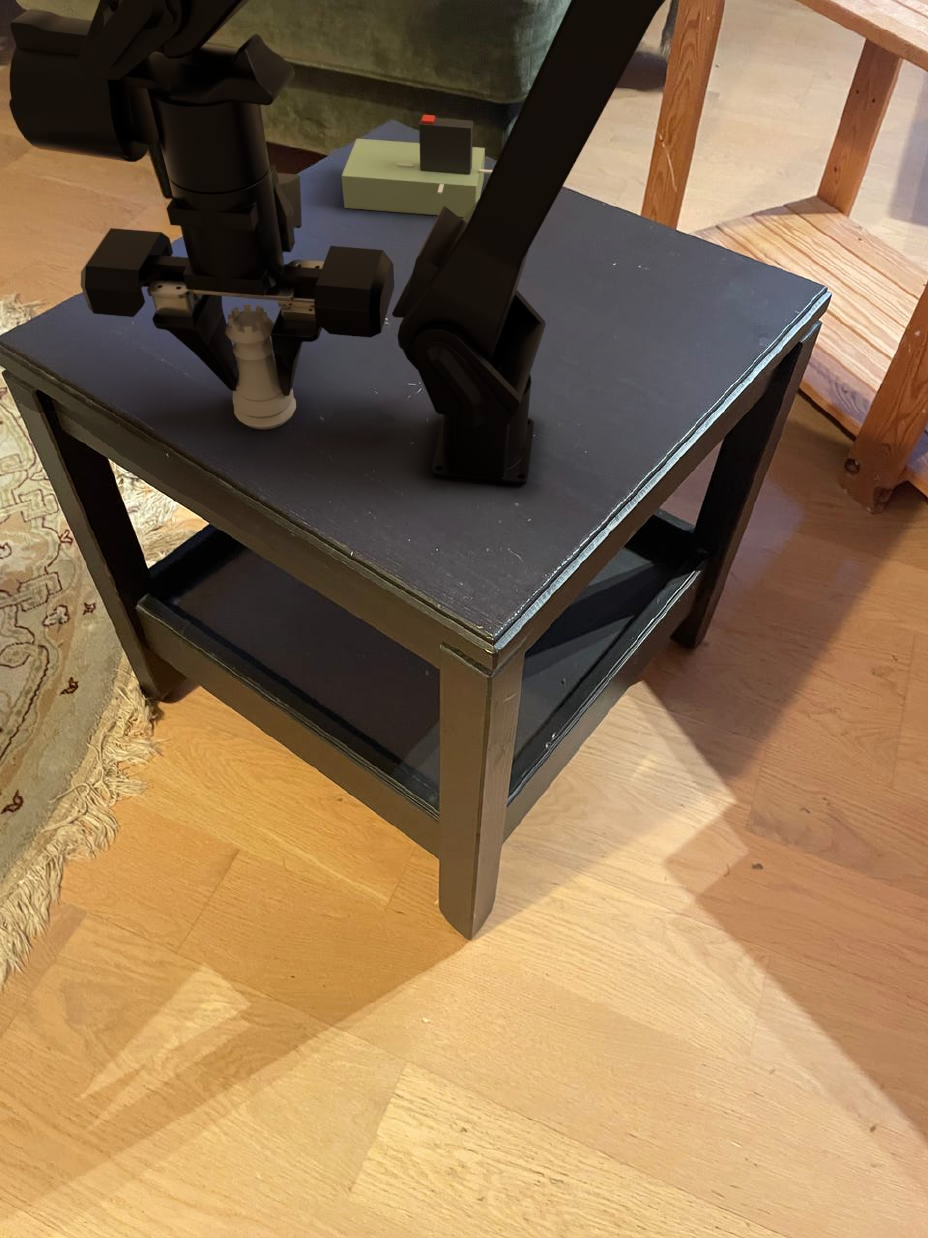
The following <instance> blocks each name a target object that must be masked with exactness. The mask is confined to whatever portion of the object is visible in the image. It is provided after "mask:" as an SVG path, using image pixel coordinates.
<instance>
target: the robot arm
mask: <svg viewBox="0 0 928 1238" xmlns="http://www.w3.org/2000/svg"><path fill="white" fill-rule="evenodd" d="M249 1H250V0H99V1H98V3H97V7H96V10H95V11H94V15H93V17H92V20H90V19H81V18H74V17H73V18H72V17H67V16H61V15H59V14H57V13H54V12H51V11H47V10H41V9H36V8H35V9H34V8H29V9H27V10H26V11H25V12H23V13H22V14H20V15H19V16H18V17H16V18H14V19H13V20H12V21H11V22H10V24H9V29H10V33H11V35H12V38H13V41H14V45H15V48H14V51H13V54H12V57H11V60H10V67H9V93H10V99H9V101H8V106H9V110H10V112H11V116H12V118H13V120H14V123H15V125H16V127H17V129H18V130H19V133H21V135H22V136H23V138H24V139H25V140H26V141H27V142H28V143H29V144H30V145H31V146H33V147H34V148H37V149H39V150H45V151H50V152H51V151H52V152H58V153H65V154H72V155H77V156H78V155H80V156H85V157H94V158H100V159H107V160H115V161H119V162H127V163H136V162H139V161H140V160H142V159H143V158H144V157H145V156H146V154H147V153H148V151H149V149H150V148H151V146H153V145H154V144H156V143H157V142H158V141H159V144H160V148H161V152H162V156H163V160H164V164H165V168H166V169H165V170H166V172H167V177H168V180H169V185H170V190H171V195H172V197H171V200H170V201H169V203H168V205H167V206H166V213H167V216H168V217H167V218H168V220H169V225H170V226H176V227H180V231H181V235H182V239H183V243H184V248H185V252H186V256H187V257H185V256H184V257H183V256H174V255H173V254H174V251H173V246H172V243H171V238H170V237H169V236H167V235H166V234H165V233H163V232H162V231H152V230H151V231H150V230H139V229H129V228H128V229H126V228H117V227H116V228H114V227H111V228H110V229H108V231H107V232H106V233H105V234H104V236H103V238H102V239H101V241H100V242H99V244H98V245H97V247H96V248H95V249H94V251H93V252H92V254H91V256H90V257H89V258H88V260H87V262H86V263H85V265H84V266H83V268H82V270H80V288H81V290H82V293H83V296H84V299H85V302H86V305H87V307H88V309H89V310H90V311H91V313H92V314H94V315H102V316H103V315H104V316H114V317H115V316H116V317H127V318H134V317H135V316H136V315H137V314H138V313H139V312H140V311H141V310H142V308H143V307H144V305H145V303H146V299H145V295H144V293H143V289H142V288H146V292H147V295H148V296H149V297H151V298H152V302H153V305H154V309H155V312H154V314H153V316H152V319H151V320H152V323H153V326H154V328H156V329H158V330H163V331H164V330H165V331H167V332H169V333H170V334H172V335H173V336H174V337H175V338H176V339H177V340H178V341H179V342H180V343H182V344H183V345H184V346H185V347H186V348H187V349H189V350H190V351H191V352H192V353H193V354H194V355H196V356H197V358H198V359H200V360H201V362H203V363H204V365H206V366H207V368H209V370H210V371H211V372H212V373H213V374H214V375H215V377H216V378H218V379H219V380H220V381H221V382H222V383H223V385H225V387H226V388H227V389H228V390H230V391H231V392H233V391H237V390H236V383H237V381H238V379H239V365H238V359H237V356H236V355H235V354H234V353H233V345H234V344H233V341H232V340H231V339H229V338H228V336H227V335H226V334H225V327H226V325H227V324H228V323H227V320H226V316H225V313H224V309H223V297H232V298H242V299H255V300H266V301H277V304H278V305H277V307H280V308H279V311H278V314H277V316H276V318H275V321H274V326H273V328H272V331H271V333H270V334H271V336H270V339H271V340H272V346H273V357H274V359H275V364H276V370H277V376H278V381H279V385H280V388H281V390H282V393H283V395H284V396H289V395H290V392H291V389H293V386H294V382H295V376H296V373H297V368H298V363H299V358H300V355H301V349H302V345H303V343H313V342H315V341H317V340H318V339H319V338H320V336H321V333H322V330H324V331H325V332H326V333H328V334H329V335H337V336H347V337H359V338H369V339H371V338H373V337H376V336H378V335H379V334H381V333H382V331H383V328H384V324H385V322H386V321H385V320H386V317H387V315H388V310H389V306H390V304H391V299H392V296H393V293H394V290H395V272H394V270H395V268H394V263H393V261H392V260H391V258H390V257H389V256H388V255H387V253H386V252H385V250H384V249H375V248H361V247H352V246H351V247H350V246H339V245H338V246H337V245H330V246H329V249H328V250H327V254H326V257H325V259H324V260H310V259H293V260H291V261H290V262H288V263H285V260H284V253H292V251H293V249H294V247H295V244H296V237H295V232H294V230H295V229H301V228H302V226H303V224H302V223H303V221H302V194H301V193H302V192H301V176H300V175H298V174H294V173H285V172H284V173H283V172H278V171H277V169H276V165H275V164H270V161H269V154H268V147H267V140H266V133H265V127H264V121H263V114H262V108H261V106H266V107H267V106H270V105H272V104H273V103H274V102H275V100H276V99H277V98H278V97H279V95H281V93H282V92H283V91H284V90H285V88H286V87H287V86H288V85H289V84H290V83H291V81H292V80H293V79H294V77H295V75H296V74H295V69H294V67H293V66H292V65H291V64H290V63H289V62H288V61H287V60H286V59H284V57H283V56H282V55H280V54H279V53H277V52H275V51H274V50H273V49H272V48H270V47H269V46H268V45H267V44H266V43H265V41H264V39H263V38H262V37H261V35H260V34H258V33H253V34H251V35H250V36H249V37H248V38H247V39H246V40H245V42H243V43H242V44H241V45H240V47H239V48H234V47H233V48H232V47H226V46H218V45H212V44H206V43H208V41H209V40H211V38H213V37H214V36H215V35H216V33H218V32H219V31H220V30H221V29H222V28H223V27H224V26H225V25H226V24H227V23H228V22H229V21H231V19H232V18H233V17H234V16H236V15H237V14H238V12H239V11H240V10H241V9H243V8H244V7H245V6H246V4H248V2H249ZM666 1H667V0H570V2H569V4H568V7H567V9H566V11H565V13H564V15H563V17H562V20H560V23H559V25H558V27H557V30H556V32H555V33H554V34H555V35H554V37H553V39H552V41H551V43H550V45H549V47H548V50H547V52H546V53H545V56H544V59H543V60H542V63H541V65H540V67H539V69H538V72H537V73H536V75H535V78H534V80H533V82H532V84H531V87H530V88H529V91H528V93H527V95H526V97H525V99H524V101H523V104H522V106H521V108H520V110H519V111H518V114H517V117H516V119H515V121H514V123H513V125H512V127H511V130H510V131H509V133H508V136H507V138H506V141H505V143H504V145H503V146H502V149H501V151H500V153H499V155H498V158H497V160H496V162H495V165H494V166H493V169H492V170H493V171H492V173H490V175H489V177H488V179H487V182H486V184H485V186H484V188H483V190H482V191H481V195H480V198H479V200H478V201H477V202H476V204H475V205H474V206H473V207H472V209H471V210H470V211H469V212H468V213H467V214H466V215H465V217H458V216H457V215H456V214H455V213H453V212H452V211H451V210H449V209H448V208H447V207H445V206H443V207H442V209H441V211H440V213H439V215H437V217H436V219H435V221H434V222H433V223H434V224H433V225H432V227H431V229H430V231H429V233H428V235H427V237H426V239H425V241H424V243H423V244H422V246H421V249H420V251H419V252H418V255H417V257H416V259H415V262H414V266H413V269H412V272H411V275H410V277H409V279H408V280H407V282H406V284H405V287H404V288H403V291H402V293H401V294H400V297H399V298H398V300H397V302H396V304H395V306H394V309H393V311H392V313H391V315H392V316H393V318H399V319H400V318H401V319H402V320H401V322H400V324H399V327H398V333H397V344H398V347H399V348H400V349H401V350H402V351H403V353H404V356H405V358H406V359H407V361H409V363H410V364H411V365H412V366H413V367H414V368H415V369H416V370H417V372H418V374H419V376H420V379H421V381H422V384H423V386H424V388H425V390H426V393H427V395H428V398H429V400H430V402H431V404H432V407H433V409H434V411H435V413H436V414H438V415H442V418H441V422H440V428H439V432H438V437H437V442H436V446H435V452H434V455H433V456H434V457H433V461H432V467H431V475H432V476H433V477H434V478H436V479H442V480H443V479H445V480H455V481H464V482H465V481H466V482H476V483H484V484H485V483H486V484H496V485H506V486H517V487H523V486H526V485H527V484H528V481H529V480H528V479H529V473H530V471H529V470H530V462H531V453H532V452H531V451H532V444H533V435H534V425H535V422H534V420H533V419H531V418H529V412H530V411H529V410H530V400H531V389H532V387H531V386H532V377H531V371H532V368H533V366H534V363H535V359H536V356H537V353H538V350H539V347H540V345H541V341H542V338H543V335H544V332H545V328H546V325H547V324H546V320H545V319H544V318H543V317H542V316H541V315H540V314H539V312H537V310H536V309H535V308H534V307H533V306H532V304H531V303H529V301H528V300H527V299H526V298H525V297H524V296H523V295H522V293H520V291H519V290H518V287H519V283H520V280H521V277H522V274H523V270H524V268H525V265H526V261H527V258H528V254H529V250H530V248H531V246H532V244H533V242H534V240H535V238H536V236H537V234H538V232H539V231H540V229H541V227H542V225H543V223H544V221H545V220H546V218H547V216H548V214H549V213H550V211H551V209H552V207H553V205H554V203H555V201H556V200H557V198H558V196H559V194H560V192H561V190H562V188H563V186H564V184H565V183H566V181H567V179H568V177H569V176H570V173H571V172H572V169H573V168H574V166H575V165H576V162H577V161H578V159H579V157H580V155H581V153H582V151H583V149H584V148H585V145H586V143H587V142H588V140H589V138H590V136H591V134H592V133H593V131H594V130H595V127H596V125H597V123H598V121H599V119H600V118H601V116H602V114H603V112H604V110H605V108H606V106H607V104H608V103H609V101H610V99H611V98H612V95H613V93H614V92H615V90H616V88H617V86H618V84H619V82H620V80H621V78H622V77H623V75H624V73H625V71H626V70H627V67H628V66H629V64H630V62H631V60H632V58H633V56H634V55H635V53H636V51H637V49H638V48H639V45H640V44H641V42H642V40H643V38H644V36H645V34H646V33H647V30H648V28H650V25H651V23H652V21H653V19H654V18H655V15H656V14H657V13H658V11H659V10H660V8H661V7H662V6H663V4H665V2H666ZM154 52H155V53H154ZM156 52H157V53H156Z"/></svg>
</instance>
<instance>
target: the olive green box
mask: <svg viewBox="0 0 928 1238" xmlns="http://www.w3.org/2000/svg"><path fill="white" fill-rule="evenodd" d="M485 150H486V147H476V146H473V149H472V169H471V173H470V174H461V173H449V172H437V171H424V170H420V142H408V141H395V140H383V139H382V140H381V139H371V138H370V139H369V138H356V139H355V141H354V144H353V146H352V149H351V151H350V154H349V156H348V158H347V160H346V163H345V166H344V169H343V171H342V174H341V185H342V196H343V207H344V209H354V210H367V211H369V210H370V211H378V212H379V211H380V212H390V213H391V212H392V213H403V214H404V213H407V214H419V215H431V216H438V215H439V213H440V211H441V209H442V207H443V206H445V207H447V208H448V209H449V210H451V211H452V212H453V213H455V214H456V215H457V216H458V217H460V218H464V217H465V215H466V214H467V213H468V212H469V211H470V210H471V209H472V207H473V206H474V205H475V204H476V202H477V201H478V200H479V198H480V197H481V194H482V191H483V190H482V189H483V185H484V181H485V174H491V173H492V171H493V169H485V155H486V154H485V152H486V151H485Z"/></svg>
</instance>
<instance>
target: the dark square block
mask: <svg viewBox="0 0 928 1238" xmlns="http://www.w3.org/2000/svg"><path fill="white" fill-rule="evenodd" d="M418 132H419V133H418V135H419V136H418V137H419V140H418V141H419V143H420V170H424V171H437V172H449V173H461V174H470V173H471V169H472V149H473V147H474V146H473V144H474V143H473V141H474V137H473V136H474V121H473V120H466V119H455V118H454V119H453V118H441V117H436V115H434V114H432V115H431V114H423V115H422V116H421V118H420V120H419V124H418Z"/></svg>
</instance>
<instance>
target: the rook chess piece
mask: <svg viewBox="0 0 928 1238" xmlns="http://www.w3.org/2000/svg"><path fill="white" fill-rule="evenodd" d="M242 306H243V311H240V309H239V308H238V307H237V306H236V307H234V308H233V309H231V310H230V313H231V314H228V315H227V321H228V322H227V323H226V324H227V325H226V327H225V334H226V335H227V336H228V338H229V339H231V342H232V343H234V344H232V345H233V353H234V354H235V356H236V360H237V364H238V371H239V379H238V381H237V383H236V390H237V391H232V404H233V414H234V415H235V417H236V418H237V419H238V421H239V422H241V423H242V424H244V425H246V426H248V427H249V428H251V429H256V430H261V431H262V430H273V429H276V428H278V427H281V426H283V425H284V424H285V423H287V422H288V421H289V420H290V419H291V418H292V417H293V415H294V413H295V411H296V408H297V401H296V398H295V397H294V396H295V395H294V389H293V388H292V389H291V392H290V395H289V396H284V395H283V393H282V390H281V388H280V385H279V381H278V376H277V370H276V364H275V358H274V352H273V346H272V340H271V334H270V333H271V331H272V328H273V326H274V323H275V321H273V320H272V318H270V317H269V316H268V313H267V311H264V307H262V306H261V305H256V306H255V310H254V309H253V308H252V304H250V303H249V304H247V303H246V304H243V305H242Z"/></svg>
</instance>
